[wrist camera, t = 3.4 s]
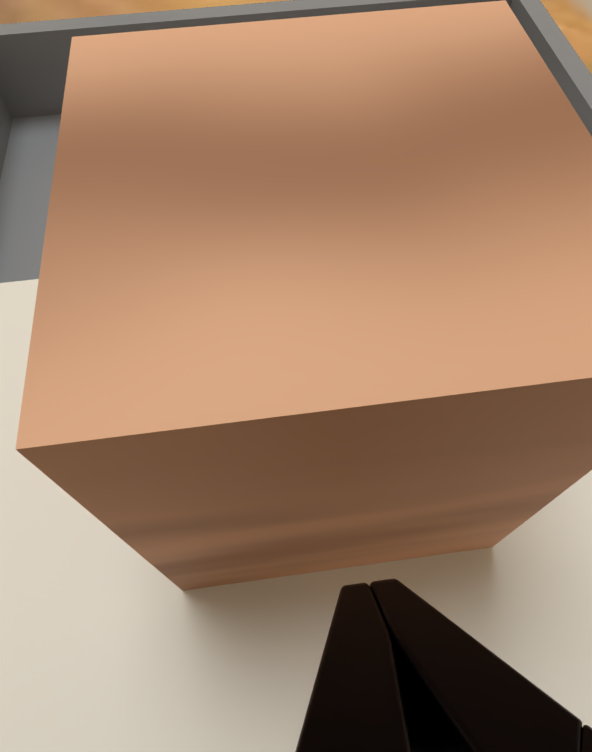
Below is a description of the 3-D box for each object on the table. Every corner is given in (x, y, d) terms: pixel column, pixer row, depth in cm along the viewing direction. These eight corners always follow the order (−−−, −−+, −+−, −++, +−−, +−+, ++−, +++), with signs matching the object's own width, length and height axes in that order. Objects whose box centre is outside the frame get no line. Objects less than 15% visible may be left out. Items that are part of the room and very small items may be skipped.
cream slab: (817, 723, 13) (944, 730, 10) (-131, 879, 12) (-252, 931, 9) (585, 277, 20) (627, 215, 18) (-26, 346, 19) (-78, 291, 16)
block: (492, 547, 12) (732, 360, 5) (182, 591, 12) (15, 448, 5) (417, 302, 16) (505, 0, 9) (175, 330, 15) (72, 37, 9)
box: (606, 274, 20) (669, 187, 17) (-49, 349, 19) (-128, 271, 15) (497, 73, 27) (526, -20, 23) (2, 119, 25) (-46, 28, 22)
